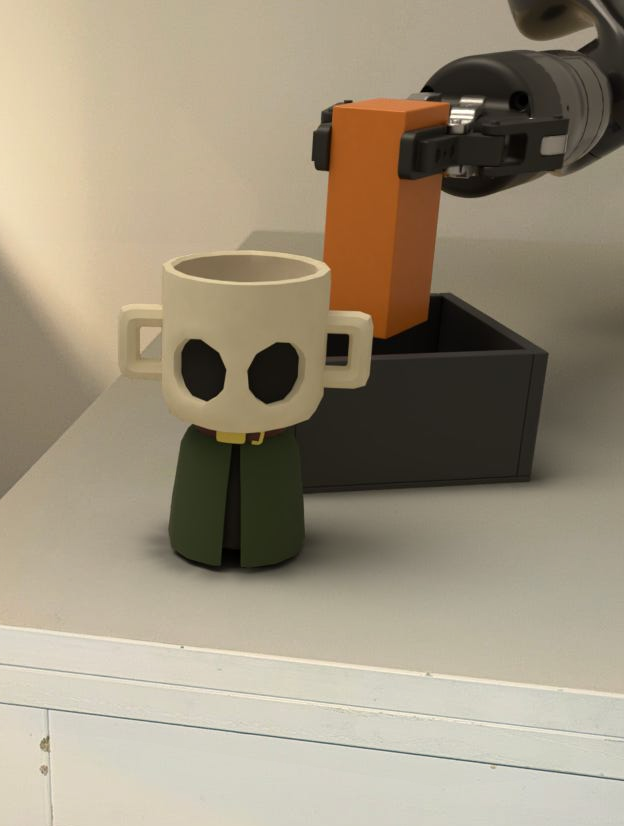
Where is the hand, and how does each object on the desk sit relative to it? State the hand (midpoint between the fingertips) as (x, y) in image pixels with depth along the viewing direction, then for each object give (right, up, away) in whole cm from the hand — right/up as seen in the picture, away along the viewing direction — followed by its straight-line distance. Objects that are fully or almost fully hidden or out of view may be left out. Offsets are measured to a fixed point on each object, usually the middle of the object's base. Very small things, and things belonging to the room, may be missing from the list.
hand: (363, 152), depth 64 cm
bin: (+2, -13, +9) cm, 16 cm away
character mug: (-7, -20, -3) cm, 21 cm away
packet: (+2, -7, +6) cm, 9 cm away
